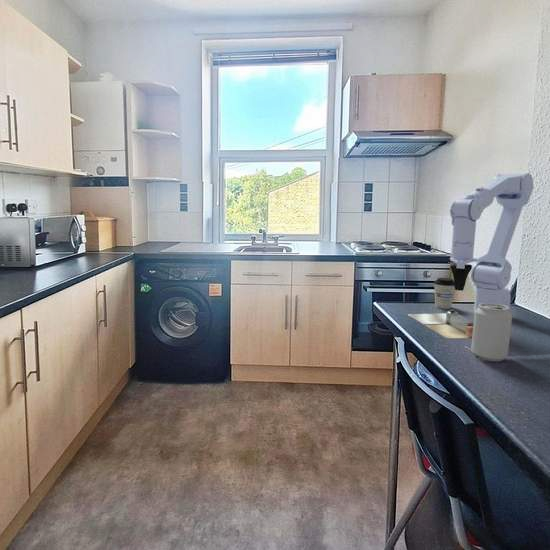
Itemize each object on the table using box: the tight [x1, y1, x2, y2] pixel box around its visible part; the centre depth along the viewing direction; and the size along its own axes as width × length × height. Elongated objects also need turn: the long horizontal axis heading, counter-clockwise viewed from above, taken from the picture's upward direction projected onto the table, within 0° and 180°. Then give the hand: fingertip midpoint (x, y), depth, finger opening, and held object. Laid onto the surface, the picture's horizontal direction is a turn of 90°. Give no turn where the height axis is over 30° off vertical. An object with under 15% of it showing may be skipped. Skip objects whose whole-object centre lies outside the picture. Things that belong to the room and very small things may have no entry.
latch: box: [446, 310, 474, 333], centre depth 117 cm, size 11×3×3 cm, turn 8°
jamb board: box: [406, 309, 473, 340], centre depth 121 cm, size 15×23×5 cm, turn 8°
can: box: [470, 303, 513, 362], centre depth 98 cm, size 8×8×12 cm
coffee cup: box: [433, 277, 456, 310], centre depth 140 cm, size 7×7×10 cm
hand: (459, 289), depth 124 cm, fingers closed
